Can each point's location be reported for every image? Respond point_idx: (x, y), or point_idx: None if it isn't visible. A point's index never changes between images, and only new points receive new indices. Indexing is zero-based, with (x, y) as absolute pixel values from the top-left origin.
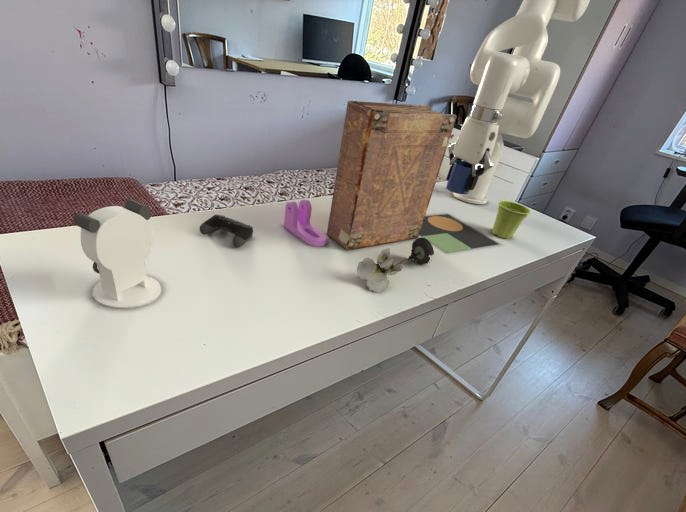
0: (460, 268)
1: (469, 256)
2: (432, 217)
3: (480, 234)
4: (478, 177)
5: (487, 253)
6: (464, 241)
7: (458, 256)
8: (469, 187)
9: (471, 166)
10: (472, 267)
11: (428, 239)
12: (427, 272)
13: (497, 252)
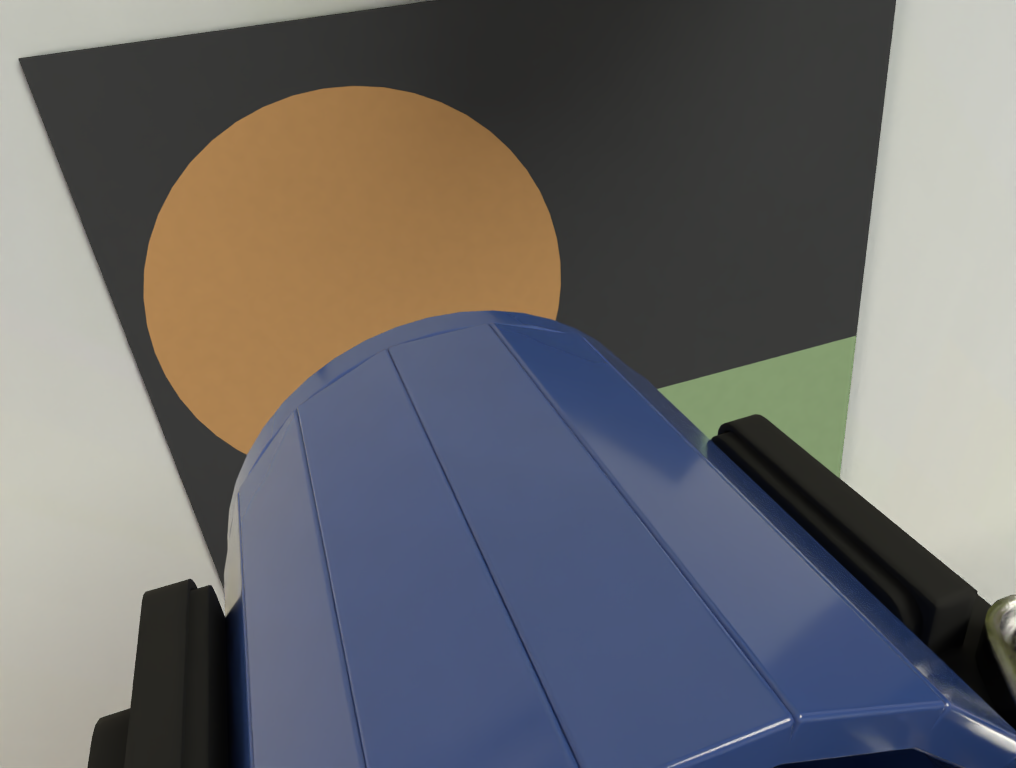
0: (976, 546)
1: (919, 418)
2: (201, 383)
3: (680, 7)
4: (989, 605)
5: (951, 235)
6: (751, 325)
7: (889, 495)
8: None
9: (555, 727)
10: (1003, 472)
11: None
12: None
13: (980, 115)
